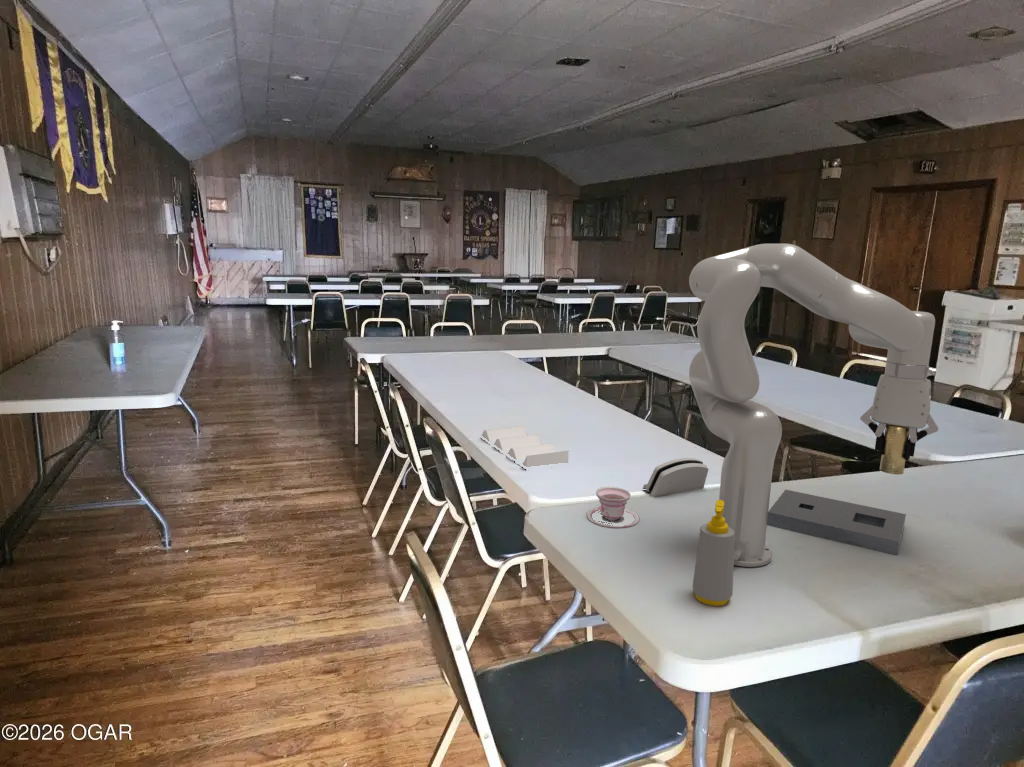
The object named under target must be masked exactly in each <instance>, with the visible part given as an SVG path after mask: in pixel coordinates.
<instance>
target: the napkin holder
mask: <svg viewBox="0 0 1024 767" xmlns="http://www.w3.org/2000/svg"><path fill="white" fill-rule="evenodd" d="M708 473H709V468H708V466H707V465H706V464H704V462H703V461H701V459H697V458H693V457H692V458H691V457H681V458H676V459H673V460H672V459H671V460H669V461H668V460H667V461H666V462H663V463H661V464H658V465H657V466H655V467H654V469H653V472H652V473H651V475H650V477H649V480H648V483H646V484H643V486H642V489H646V490H645V491H646V492H650V493H649V494H650V496H652V497H653V498H655V497H656V498H657V497H660V496H666V495H671V494H673V495H674V494H676V493H677V494H678V493H682V492H689V491H695V490H699V489H700V490H701V489H704V488H705V484H706V480H707V476H708Z"/></svg>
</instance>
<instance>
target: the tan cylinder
mask: <svg viewBox="0 0 1024 767" xmlns="http://www.w3.org/2000/svg"><path fill="white" fill-rule="evenodd" d="M909 438H910V433H909V428H908V427H902V426H895V425H889V424H886V427H885V429H884V443H883V450H882V455H881V458H880V465H879V470H880V471H881V472H882V473H886V474H890V475H898V476H899V475H903V474H904V473H905V472H904V470H905V464H906V460H904V459H905V452H906V446H907V442H908V440H909Z"/></svg>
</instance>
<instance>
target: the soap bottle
mask: <svg viewBox="0 0 1024 767" xmlns="http://www.w3.org/2000/svg"><path fill="white" fill-rule="evenodd" d="M723 511H724V501H723V500H719V499H717V500H715V506H714V512H715V515H714V516H712V517H711V519H710V521H708V522H707V523H706V524H703V525H701V527H700V529H699V537H698V544H697V552H696V557H695V558H696V559H695V566H694V573H693V580H692V586H691V587H692V591H693V592H694V593H695V594H694V595H695V598H696V599H697V600H698V601H700V602H701V603H703V604H705V605H708V606H715V607H718V606H720V607H721V606H724V605H726V604H727V603H728V602H729V599H731V598H732V597H733V595H734V594H733V590H734V587H733V585H734V566H735V565H734V541H735V532H734V530H733V529H731V528H730V527H728V524H727V523H725V518H724V517H722V514H723Z"/></svg>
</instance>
